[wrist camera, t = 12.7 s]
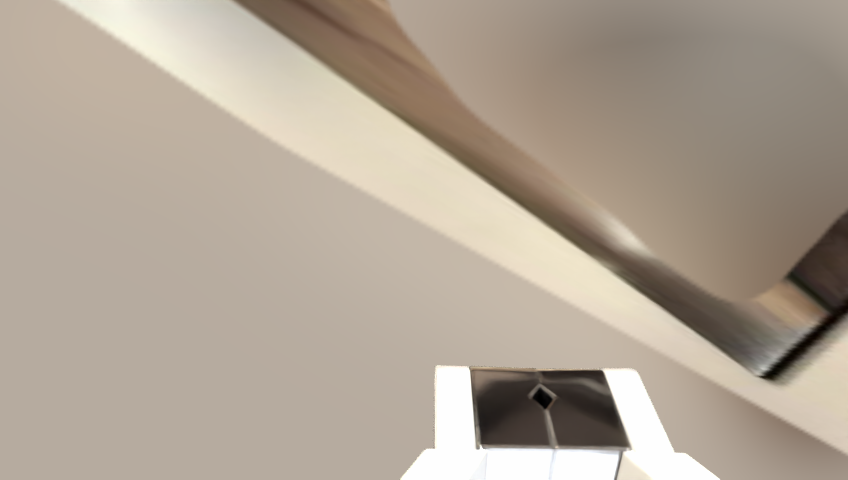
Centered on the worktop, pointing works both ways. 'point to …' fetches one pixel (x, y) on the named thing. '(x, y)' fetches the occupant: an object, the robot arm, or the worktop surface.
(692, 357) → the worktop surface
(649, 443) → the robot arm
